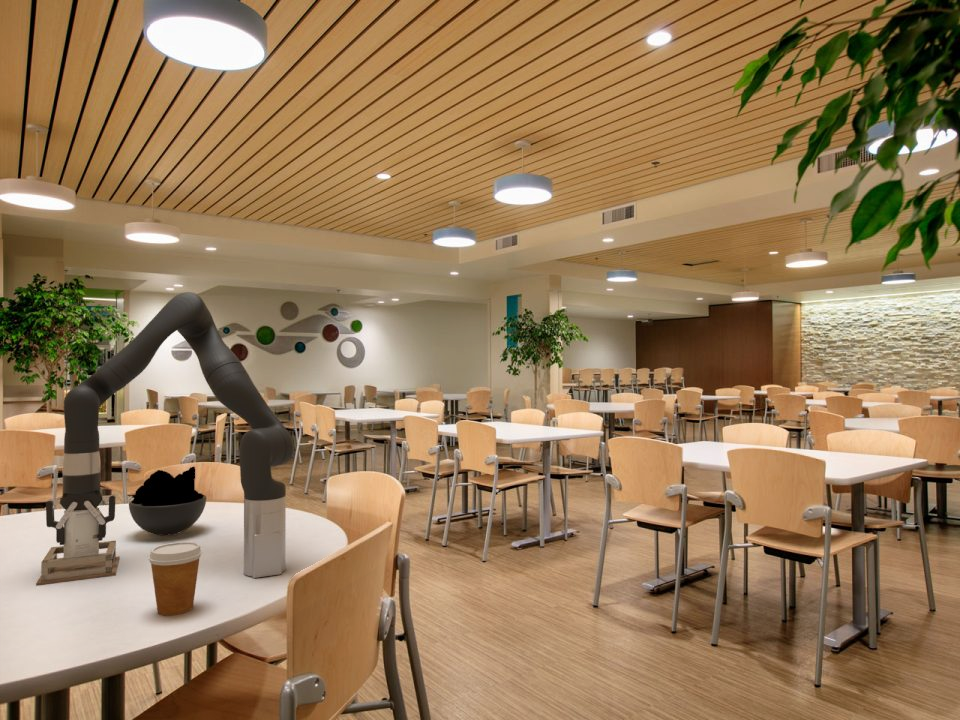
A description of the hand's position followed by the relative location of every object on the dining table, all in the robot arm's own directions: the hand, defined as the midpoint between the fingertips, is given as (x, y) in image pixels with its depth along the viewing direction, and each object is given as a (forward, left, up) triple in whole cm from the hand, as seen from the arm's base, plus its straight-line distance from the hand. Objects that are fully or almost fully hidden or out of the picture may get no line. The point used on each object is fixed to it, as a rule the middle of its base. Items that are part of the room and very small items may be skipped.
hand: (81, 542), depth 148 cm
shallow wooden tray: (0, 0, -7) cm, 7 cm away
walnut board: (0, 0, -7) cm, 7 cm away
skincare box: (0, 0, -5) cm, 5 cm away
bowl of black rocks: (+28, -18, -7) cm, 34 cm away
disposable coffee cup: (-37, -19, -7) cm, 42 cm away
